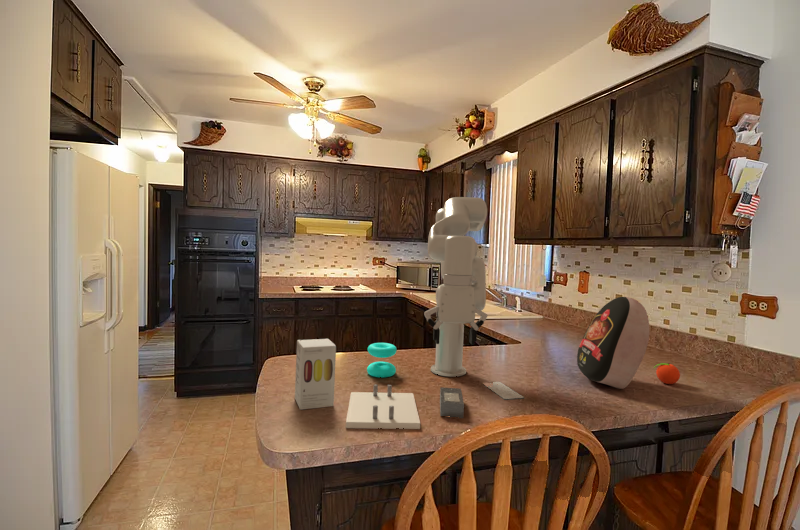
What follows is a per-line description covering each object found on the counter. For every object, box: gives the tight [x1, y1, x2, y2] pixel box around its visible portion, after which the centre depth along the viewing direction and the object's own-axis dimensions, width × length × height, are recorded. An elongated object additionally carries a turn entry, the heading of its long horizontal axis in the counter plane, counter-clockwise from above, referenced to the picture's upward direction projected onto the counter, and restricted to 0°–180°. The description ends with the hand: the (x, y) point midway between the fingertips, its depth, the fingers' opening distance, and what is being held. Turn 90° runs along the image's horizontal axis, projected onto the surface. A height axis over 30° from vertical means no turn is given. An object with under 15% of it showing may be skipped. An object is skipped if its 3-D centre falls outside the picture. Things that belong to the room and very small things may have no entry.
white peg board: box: [345, 383, 421, 430], centre depth 109 cm, size 20×18×4 cm
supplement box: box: [294, 338, 337, 410], centre depth 114 cm, size 10×9×17 cm
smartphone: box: [485, 381, 525, 401], centre depth 130 cm, size 7×1×15 cm
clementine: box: [653, 362, 681, 385], centre depth 143 cm, size 8×7×7 cm
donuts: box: [366, 342, 398, 379], centre depth 141 cm, size 10×10×10 cm
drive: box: [439, 387, 465, 419], centre depth 113 cm, size 12×6×4 cm, turn 175°
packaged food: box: [576, 296, 650, 390], centre depth 140 cm, size 22×20×30 cm
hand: (454, 343), depth 112 cm, fingers open, 9 cm apart
